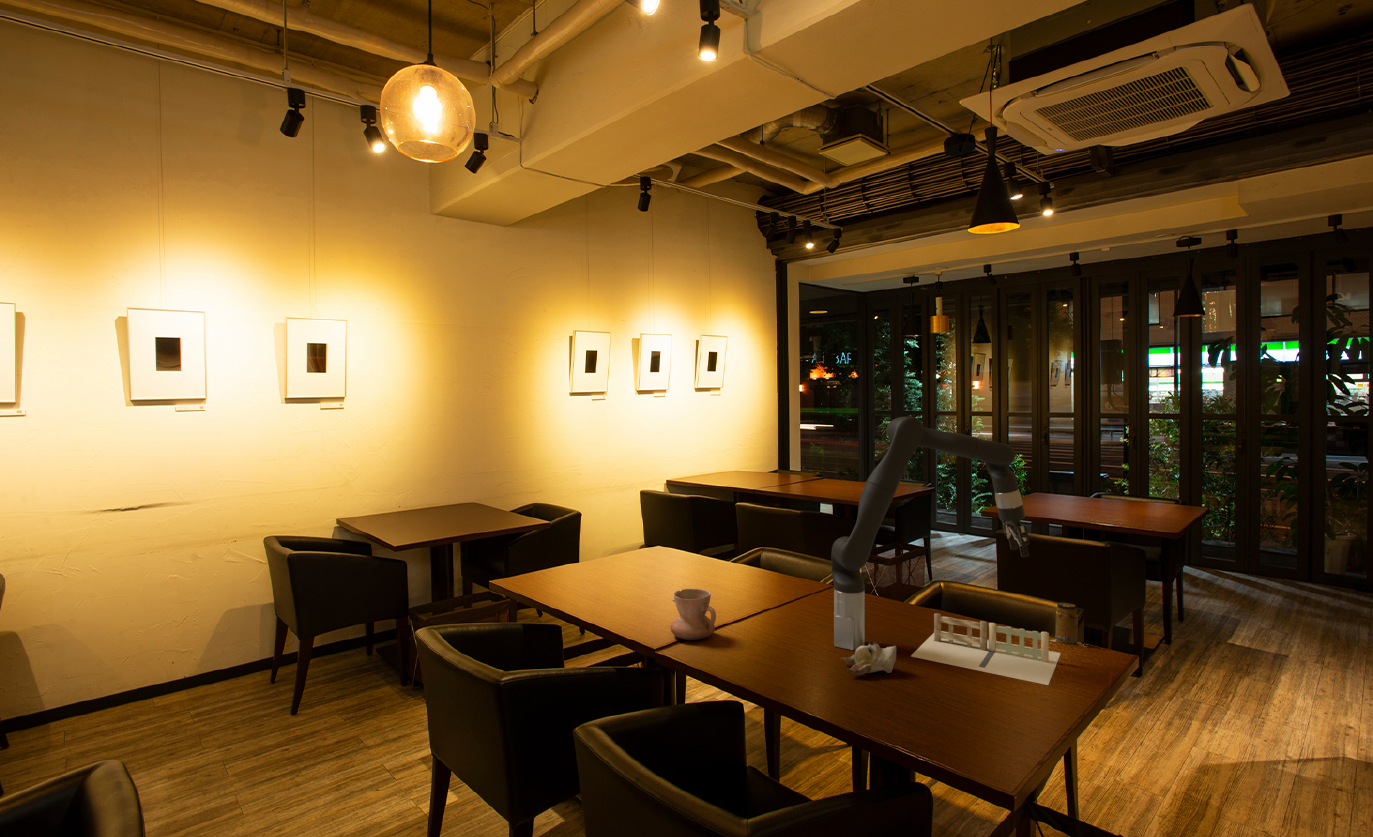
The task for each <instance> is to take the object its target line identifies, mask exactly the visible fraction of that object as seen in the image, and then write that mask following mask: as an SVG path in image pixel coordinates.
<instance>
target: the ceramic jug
mask: <svg viewBox="0 0 1373 837" xmlns="http://www.w3.org/2000/svg"><path fill="white" fill-rule="evenodd" d="M673 592H674V593H673V598H672V600H671V601H672V602H673V603H675V607H676V610H677V611H678V614H679V615H678V616H677V617H676V618H674V619H673V620H672V621H671V622H670V625H669V628H670V632H671V634H672V635H674V636H675V637H677V638H678V639H682V640H687V641H697V640H699V641H700V640H702V639H706V638H709V637H710V636H711V635H713V634H714V632H715V628H716V627H715V626H716V625H715V624H716V620H717V613H716V610H715V608H714V607H712V606H711V605H710V603H711V598H712V597H711V596H712V595H711V594H712V593H711V592H710V591H709V590H706V589H703V588H683V589H680V590H679V589H678V590H676V591H673ZM708 611H709V613H710V618H709V617H708V616H707V615H706V614H707V612H708Z"/></svg>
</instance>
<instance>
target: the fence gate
mask: <svg viewBox="0 0 1373 837" xmlns="http://www.w3.org/2000/svg"><path fill="white" fill-rule="evenodd" d="M997 633H998V634H999V633H1000V634H1005V635H1006V636H1005V638H1006V642H1003V643H999V642H1000V641H998V642H996V641H997ZM1012 636H1016V637H1019V638H1018V639H1019V641H1018V642H1019V644H1018V645H1019V646H1015V645H1016V644H1014V645H1011V644H1012ZM1025 638H1029V639H1032V647H1031V648H1033V649H1031V648H1026V647H1027V646H1025ZM988 640H989V651H996V649H1001V650H1006V653H1008V654H1011V652H1016V653H1019V656H1024V654H1027V655H1032V656H1033V658H1034V659H1037V658H1038V657H1041V660H1042V661H1045V662H1048V661H1049V651H1050V645H1049V644H1050V641H1049V640H1050V633H1049V632H1047V631H1041V632H1039V631H1037V630H1032V631H1031V630H1025V628H1019V629H1018V628H1013V627H1012V626H1008V625H1007V626H1002V625H1001V626H1000V625H997V623H995V622H989V623H988ZM1039 641H1040V649H1041V650H1038V649H1039V647H1038V646H1039V645H1038V642H1039ZM1004 643H1006V644H1004ZM1024 646H1025V647H1024Z"/></svg>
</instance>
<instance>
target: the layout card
mask: <svg viewBox="0 0 1373 837" xmlns="http://www.w3.org/2000/svg"><path fill="white" fill-rule="evenodd" d="M941 632H945V633H948V631H943V630H941ZM953 634H955V635H961V636H966V637H967V635H964V634H958V633H954V632H953ZM972 638H977V639H980V637H976V636H972ZM996 642H999V643H1004V644H1006V642H1002V641H998V640H996ZM1011 645H1015V646H1019V644H1014V643H1011ZM1024 647H1026V648H1031V649H1033V647H1031V646H1026V645H1024ZM1038 650H1041V648H1038ZM1060 656H1061V652H1057V651H1052V650H1051V651H1050V650H1049V661H1048V662H1045V661H1042V660H1041V657H1038V658H1037V659H1034V658H1033V656H1032V655H1027V654H1024V656H1019V653H1016V652H1011V654H1008V653H1006V650H1001V649H996V651H989V639H987V650H986V651H983V650H980V645H974V644H972V647H967V643H964V642H959V641H953V644H950V643H948V639H943V638H941V641H940V642H936V641H934V632H933V633H932V634H931V635H930V636H929V637H927V639H926V640H925V641H924V642H923V643H922V644H921V645H920V646H919V647H918V648H917V649H916V650H915V651H914V652H913V653H912V654H911V656H910V657H912V658H918V659H922V660H926V661H931V662H936V663H941V664H945V665H950V666H954V667H960V668H963V669H964V668H965V669H969V670H974V671H979V672H984V673H987V674H992V675H999V676H1002V677H1007V678H1012V679H1017V680H1021V681H1026V682H1030V683H1036V684H1041V685H1045V686H1049V684H1050V681H1051V679H1052V677H1053V674H1054V671H1055V669H1056V666H1057V664H1058V662H1059V659H1060Z"/></svg>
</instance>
